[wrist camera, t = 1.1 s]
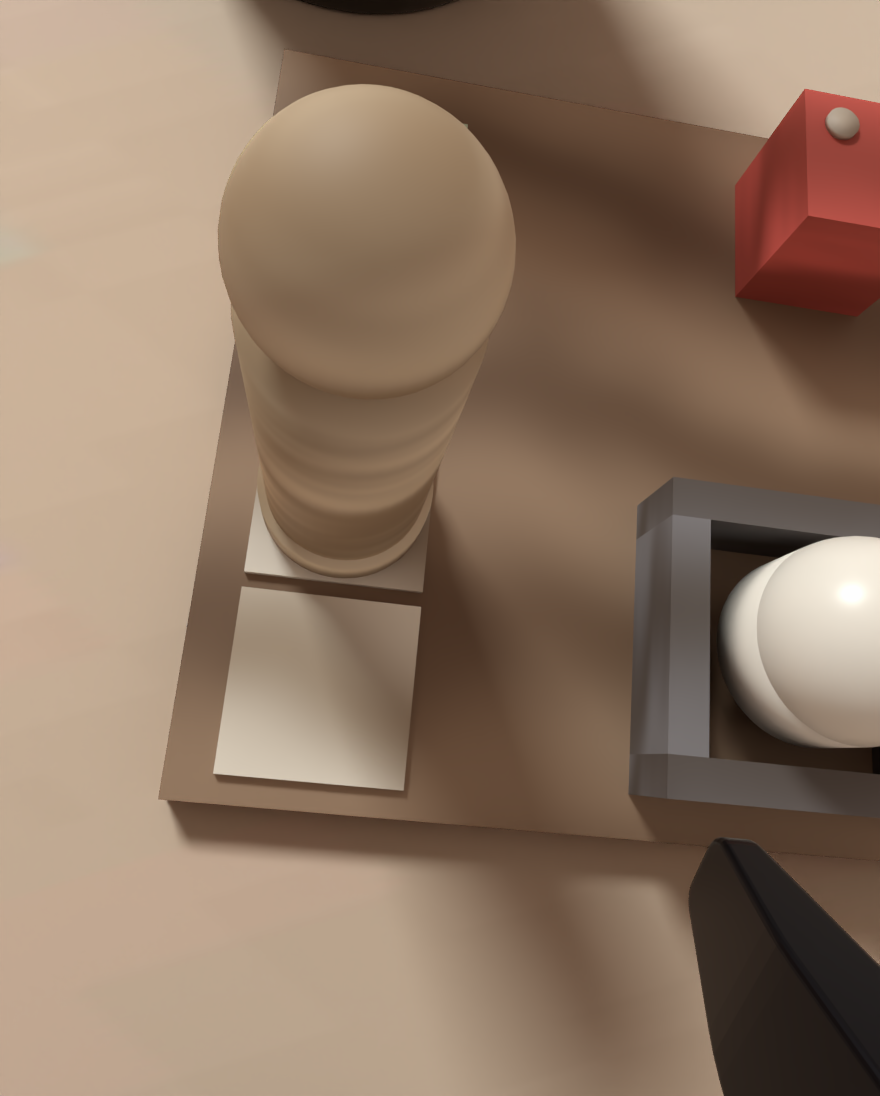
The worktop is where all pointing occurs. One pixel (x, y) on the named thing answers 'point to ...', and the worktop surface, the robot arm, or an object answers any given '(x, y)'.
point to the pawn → (360, 312)
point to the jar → (378, 5)
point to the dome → (808, 644)
